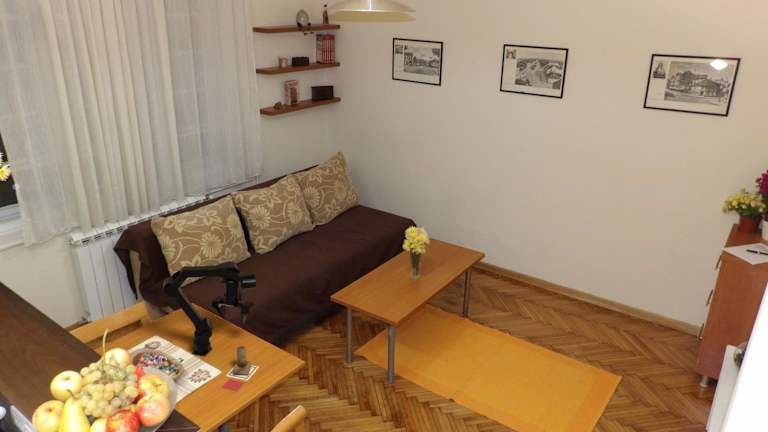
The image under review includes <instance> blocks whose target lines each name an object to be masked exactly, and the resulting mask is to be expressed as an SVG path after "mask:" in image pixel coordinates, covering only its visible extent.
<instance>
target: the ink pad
mask: <svg viewBox="0 0 768 432" xmlns="http://www.w3.org/2000/svg"><path fill="white" fill-rule="evenodd" d="M245 383H246V382H245V381H240V380H236V379H233V378H232V379H231V378H229V379H228V380H227V381H225V383H224V384H223V385H222V386H221V389H224V390H229V391H234V392H239V390H240V389H241V388H242V387H243V385H244V384H245Z"/></svg>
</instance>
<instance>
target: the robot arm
mask: <svg viewBox="0 0 768 432" xmlns="http://www.w3.org/2000/svg"><path fill="white" fill-rule="evenodd" d="M209 277H217V278H220V279H219V281H220V284H224V289H225V290H224V291H225V293H223V296H221V295H220V296H219V295H218V296H215V297H214V298H213V299H212V300H211V302H210V305H211V307H212V308H213V309H215V310H216V311H217V313H219V315H220V316H221V318H222V319H223V321H225V320H226V319H227V315H226V314H227V313H226V307H227V306H228V307H233V308H240V311H241V312H240V321H241V323H242V324H244V323H245V321H246V319H247V315H248V314H250V313H251V312H252V311H253V310H255V308H256V304H255V302H252V301H249V300H246V301H245V302H244V303H242V301H243V299H246V296H247V291H246V290H251V289H256V288H257V280H256V274H255V272H252V273H251V272H250V273H242V271H241V270H240V269H239V268H238V265H237V263H236V262H234V261H229V260H228V261H225V262H220V263H218V264H216V265H214V264H213V265H197V266H195V265H193V266H187V265H185V266H182V267H181V268H180V269H179V270H177V271H175V272H174V273H173V274H172V275H170V276H168V277H166V278H165V279H164V281H163V285H162V291H163V294H164V295H166V296H167V297H168V298H169V299H171V300H172V301H175V303H176V304H177V305H178V306H179V308H180V309H181V310H182V311H183V313H184V314H185V316H187V318H188V319H189V320H190V321H191V323H192V324H193V327H194V328H195V330H194V331H193V351H192V355H196V356H200V357H206V356H207V355H208V354H209V353H210V352H211V351H212V350H213V347H212V344H211V340H210V338H212V336H213V323H212V321H211V320H210V319H209V317H208V316H205V317H204V316H202V315H201V314H200V313H199V312H198V310H197V309H196V308H195V307H194V305H193V304H192V303H191V301H190V300H189V299H188V298H187V296H186V295H185V293H183V289H182V285H183V284H184V283H185V281H186V280H187V279H189V278H209ZM239 287H240V288H241V289H240V288H239Z"/></svg>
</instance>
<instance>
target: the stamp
mask: <svg viewBox="0 0 768 432" xmlns="http://www.w3.org/2000/svg"><path fill="white" fill-rule="evenodd" d="M236 359H237V360H236V361H235V364H234V366H233V367H234V368H233V367H232V368H233V374H234V375H240V376H248V374H249V372H250V369H251V365H252V361H250V360H247V348H246V346H243V345H242V346H241V345H240V346H238V347H237V348H236Z"/></svg>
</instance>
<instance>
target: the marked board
mask: <svg viewBox="0 0 768 432" xmlns="http://www.w3.org/2000/svg"><path fill="white" fill-rule="evenodd" d="M233 368H234V366H233V367H232V368H231V370H230V371H229V372H228V373H227V374H225V377H229V378H232V379H238V380H243V381H247V382H248V381H249V380H250V378H251V377H252V376H253V375H254V374H255V373H256V371H257V370H258V369H259V366H256V365H252V364H251V369H250V372H249V374H248V376H240V375H234V374H233Z"/></svg>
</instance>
